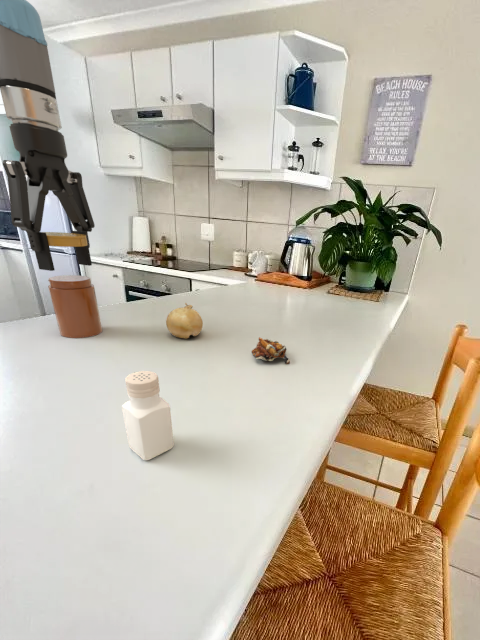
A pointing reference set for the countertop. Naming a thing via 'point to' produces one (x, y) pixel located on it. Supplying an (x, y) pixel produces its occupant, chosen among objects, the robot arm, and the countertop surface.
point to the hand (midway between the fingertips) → (67, 267)
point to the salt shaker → (147, 416)
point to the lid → (66, 239)
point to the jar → (75, 306)
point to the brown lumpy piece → (270, 350)
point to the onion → (184, 322)
